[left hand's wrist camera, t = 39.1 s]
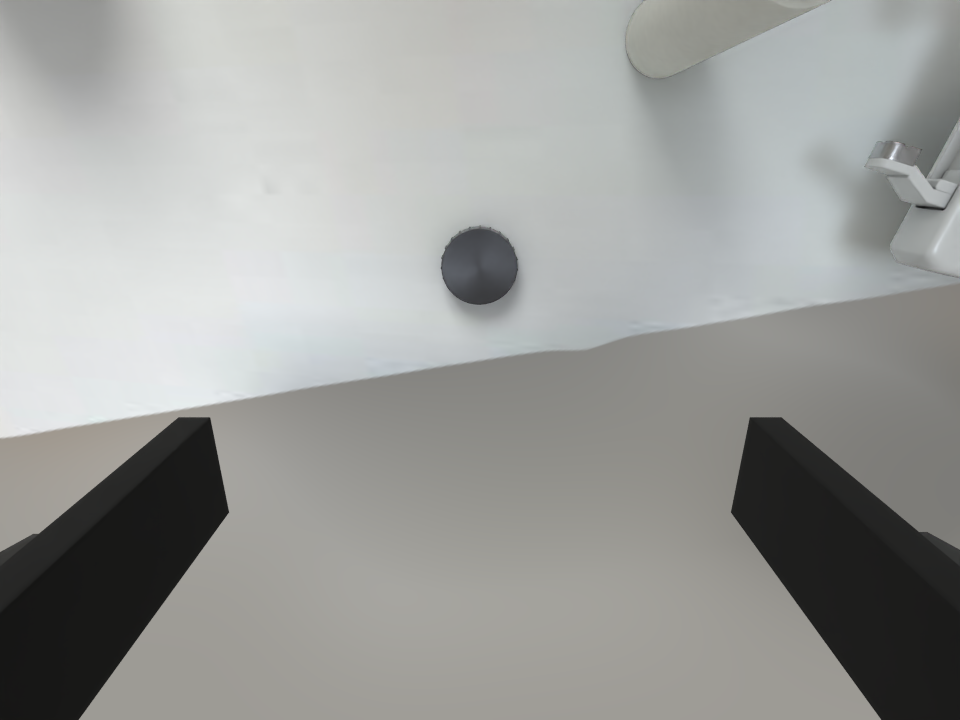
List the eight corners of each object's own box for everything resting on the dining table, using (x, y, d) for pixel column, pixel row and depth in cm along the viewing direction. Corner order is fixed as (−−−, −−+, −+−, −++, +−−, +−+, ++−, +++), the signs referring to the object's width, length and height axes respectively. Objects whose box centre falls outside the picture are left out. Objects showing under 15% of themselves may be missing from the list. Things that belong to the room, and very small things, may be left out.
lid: (428, 278, 41) (427, 283, 40) (463, 211, 40) (463, 213, 38) (493, 313, 42) (494, 318, 41) (530, 248, 40) (532, 251, 39)
